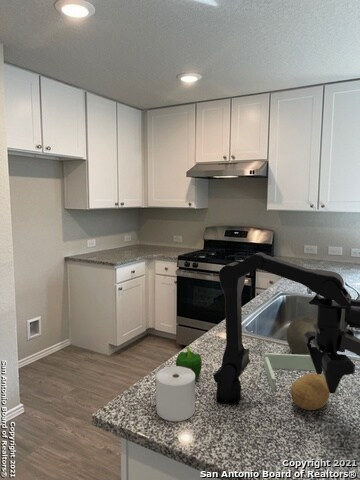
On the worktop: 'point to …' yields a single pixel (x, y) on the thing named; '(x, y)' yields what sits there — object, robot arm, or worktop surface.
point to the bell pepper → (190, 361)
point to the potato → (310, 391)
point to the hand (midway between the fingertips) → (325, 383)
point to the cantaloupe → (299, 334)
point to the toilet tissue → (175, 393)
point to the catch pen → (287, 365)
